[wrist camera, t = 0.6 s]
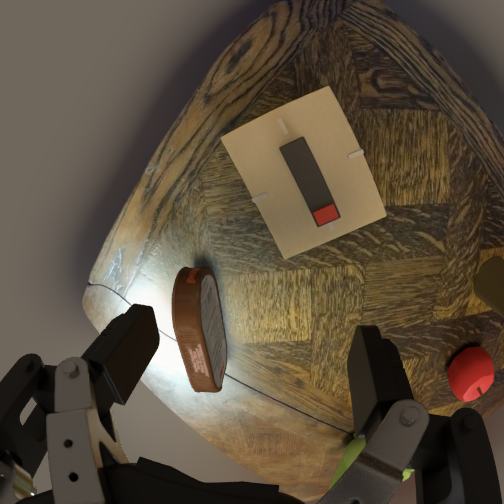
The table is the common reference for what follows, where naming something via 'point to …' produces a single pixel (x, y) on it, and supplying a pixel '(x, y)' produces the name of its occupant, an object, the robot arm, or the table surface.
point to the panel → (283, 183)
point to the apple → (471, 373)
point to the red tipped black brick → (310, 181)
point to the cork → (491, 284)
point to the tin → (200, 328)
